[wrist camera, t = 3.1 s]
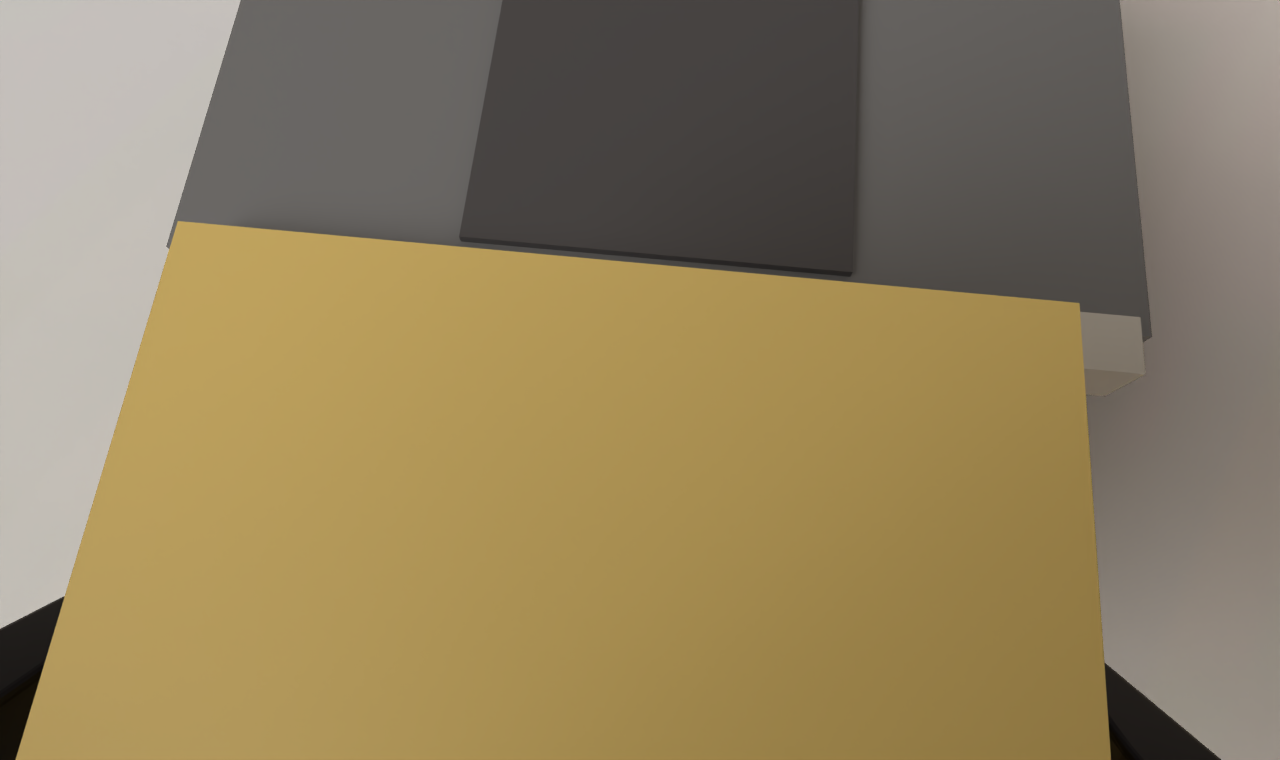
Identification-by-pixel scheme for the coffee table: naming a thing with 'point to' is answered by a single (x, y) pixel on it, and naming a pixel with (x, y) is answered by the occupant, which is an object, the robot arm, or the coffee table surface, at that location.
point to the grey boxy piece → (703, 140)
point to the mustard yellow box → (580, 517)
